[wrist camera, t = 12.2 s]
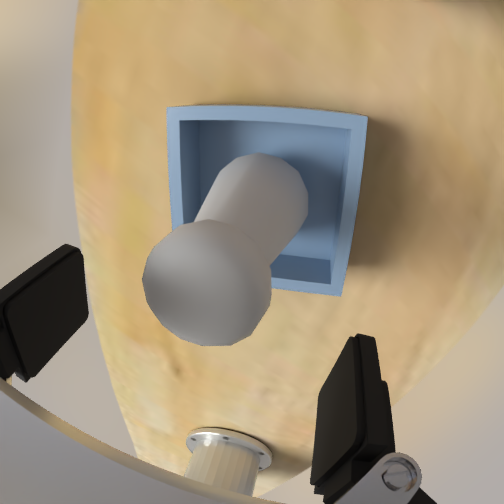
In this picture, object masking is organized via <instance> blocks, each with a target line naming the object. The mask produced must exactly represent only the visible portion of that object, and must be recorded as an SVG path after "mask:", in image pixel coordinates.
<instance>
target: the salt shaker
mask: <svg viewBox="0 0 504 504" xmlns="http://www.w3.org/2000/svg"><path fill="white" fill-rule="evenodd" d="M307 216H308V191H307V189H306V187H305V185H304V182H303V180H302V178H301V176H300V173H299V172H298V171H297V170H296V169H295V168H293V167H292V166H291V165H289V164H288V163H287V162H286V161H284V160H283V159H282V158H279V157H275V156H271V155H268V154H264V153H260V152H257V153H253V154H249V155H245V156H241V157H238V158H235V159H234V160H233V161H232V162H231V163H229V164H228V165H227V166H226V167H224V168H223V169H222V170H221V171H220V172H219V174H218V176H217V178H216V180H215V182H214V183H213V185H212V187H211V189H210V191H209V193H208V195H207V197H206V199H205V201H204V203H203V205H202V207H201V209H200V211H199V213H198V215H197V217H196V219H195V221H194V222H192V223H187V224H182V225H180V226H178V227H177V228H176V229H174V230H173V231H172V232H170V233H169V234H168V235H167V236H166V237H165V238H164V239H162V240H161V241H160V242H159V243H158V244H157V245H156V246H154V248H153V249H152V251H151V253H150V254H149V256H148V258H147V261H146V265H145V269H144V273H143V277H142V282H143V287H144V291H145V296H146V300H147V303H148V305H149V307H150V308H151V310H152V311H153V313H154V314H155V316H156V317H157V318H158V320H159V321H160V322H161V324H162V325H163V326H164V327H165V328H167V329H168V330H169V331H171V332H172V333H173V334H175V335H176V336H177V337H179V338H180V339H182V340H185V341H188V342H191V343H195V344H198V345H201V346H231V345H233V344H235V343H237V342H239V341H241V340H242V339H244V338H246V337H248V336H250V335H251V334H252V332H253V331H254V329H255V328H256V326H257V325H258V323H259V322H260V320H261V319H262V317H263V315H264V314H265V312H266V311H267V309H268V307H269V306H270V301H271V295H272V292H271V269H270V265H271V264H272V262H273V261H274V260H275V259H276V258H277V257H278V255H279V254H280V253H281V252H282V251H283V249H284V248H285V247H286V246H287V245H288V244H289V242H290V241H291V240H292V239H293V238H294V236H295V235H296V234H297V233H298V231H299V229H300V228H301V226H302V224H303V223H304V221H305V219H306V217H307Z"/></svg>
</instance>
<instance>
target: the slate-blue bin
mask: <svg viewBox="0 0 504 504" xmlns="http://www.w3.org/2000/svg"><path fill="white" fill-rule="evenodd" d="M367 120H368V117H367V116H364V115H361V114H356V113H349V112H341V111H333V110H323V109H313V108H302V107H288V106H271V105H240V104H208V105H186V106H175V107H167V147H168V171H169V189H170V205H171V219H172V231H173V230H174V229H176V228H177V227H178V226H180V225H182V224H187V223H192V222H194V221H195V219H196V217H197V215H198V213H199V211H200V209H201V207H202V205H203V203H204V201H205V199H206V197H207V195H208V193H209V191H210V189H211V187H212V185H213V183H214V182H215V180H216V178H217V176H218V174H219V172H220V171H221V170H222V169H223V168H224V167H226V166H227V165H228V164H229V163H231V162H232V161H233V160H234V159H235V158H238V157H241V156H245V155H249V154H253V153H257V152H260V153H264V154H268V155H271V156H275V157H279V158H282V159H283V160H284V161H286V162H287V163H288V164H289V165H291V166H292V167H293V168H295V169H296V170H297V171H298V172H299V173H300V176H301V178H302V180H303V182H304V185H305V187H306V189H307V191H308V216H307V217H306V219H305V221H304V223H303V224H302V226H301V228H300V229H299V231H298V233H297V234H296V235H295V236H294V238H293V239H292V240H291V241H290V242H289V244H288V245H287V246H286V247H285V248H284V249H283V251H282V252H281V253H280V254H279V255H278V257H277V258H276V259H275V260H274V261H273V262H272V264H271V265H270V269H271V288H275V289H283V290H291V291H299V292H307V293H315V294H324V295H333V296H341V294H342V290H343V285H344V280H345V275H346V270H347V265H348V259H349V254H350V248H351V243H352V237H353V231H354V225H355V219H356V212H357V206H358V199H359V192H360V184H361V177H362V169H363V160H364V151H365V141H366V131H367Z"/></svg>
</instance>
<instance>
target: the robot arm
mask: <svg viewBox="0 0 504 504" xmlns="http://www.w3.org/2000/svg"><path fill="white" fill-rule="evenodd" d="M88 314H89V311H88V303H87V294H86V284H85V272H84V258H83V255H82V254H81V251H80V249H79V248H77V247H74V246H71V245H68V244H64V245H62V246H61V247H59V248H58V249H56V250H55V251H53V252H52V253H50V254H49V255H47V256H46V257H44V258H43V259H42V260H40V261H39V262H37V263H36V264H34V265H33V266H32V267H30V268H29V269H27V270H26V271H25V272H23V273H22V274H20V275H19V276H18V277H17V278H15V279H14V280H12V281H11V282H9V283H8V284H7V285H6V286H4V287H3V288H2V289H0V504H283V503H278V502H274V501H268V500H264V499H260V498H256V497H252V494H253V490H254V486H255V482H256V478H257V474H258V471H261V470H264V469H266V468H268V467H269V466H270V464H271V462H272V453H271V451H270V450H269V449H268V448H267V447H266V446H265V445H264V444H262V443H261V442H259V441H258V440H256V439H254V438H252V437H249V436H247V435H244V434H241V433H238V432H235V431H230V430H226V429H219V428H200V429H196V430H193V431H191V432H190V433H189V434H188V436H187V439H186V445H187V447H188V449H189V450H190V451H191V452H192V456H191V459H190V461H189V464H188V467H187V469H186V472H185V474H184V477H183V476H180V475H177V474H175V473H172V472H169V471H167V470H164V469H161V468H159V467H156V466H154V465H151V464H149V463H147V462H144V461H142V460H140V459H137V458H135V457H133V456H130V455H128V454H126V453H124V452H122V451H120V450H117V449H115V448H113V447H111V446H109V445H107V444H105V443H103V442H101V441H99V440H97V439H95V438H94V437H92V436H90V435H88V434H86V433H84V432H82V431H81V430H79V429H77V428H75V427H73V426H72V425H70V424H68V423H67V422H65V421H63V420H61V419H60V418H58V417H57V416H55V415H54V414H52V413H50V412H49V411H47V410H46V409H44V408H43V407H41V406H40V405H38V404H36V403H35V402H34V401H32V400H30V399H29V398H28V397H26V396H25V395H23V394H22V393H20V392H19V391H18V390H16V389H15V388H14V387H12V385H11V384H12V374H13V373H14V372H15V374H16V376H17V377H19V378H20V379H22V380H23V381H24V382H27V381H28V380H29V379H30V378H31V377H35V376H36V375H37V374H38V373H39V372H40V370H41V369H42V368H43V367H44V366H45V365H46V363H48V361H49V360H50V359H51V358H52V357H53V356H54V355H55V354H56V353H57V351H58V350H59V349H60V348H61V347H62V346H63V345H64V344H65V343H66V342H67V341H68V340H69V338H70V337H71V336H72V335H73V334H74V333H75V332H76V331H77V330H78V329H79V328H80V327H81V325H83V324H84V323H85V321H86V320H87V318H88ZM421 480H422V474H421V469H420V467H419V466H418V464H417V463H416V461H415V460H414V459H413V458H411V457H409V456H408V455H406V454H403V453H396V452H395V441H394V431H393V422H392V413H391V405H390V398H389V391H388V385H387V383H386V382H385V381H382V380H381V373H380V366H379V359H378V353H377V346H376V340H375V338H374V337H371V336H367V335H363V334H359V333H358V334H356V336H355V337H349V339H348V340H347V342H346V344H345V346H344V348H343V350H342V352H341V354H340V356H339V358H338V359H337V361H336V363H335V365H334V367H333V369H332V370H331V372H330V374H329V376H328V378H327V379H326V381H325V383H324V385H323V386H322V388H321V390H320V393H319V396H318V406H317V418H316V430H315V441H314V451H313V460H312V470H311V478H310V484H311V485H315V489H314V494H320V495H324V498H323V502H324V503H325V504H437V503H436V502H435V501H434V500H433V499H431V498H430V497H429V496H428V495H427V494H426V493H425V492H424V491H423V490H422V489H421V488H420V487H419V486H420V484H421Z"/></svg>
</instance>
